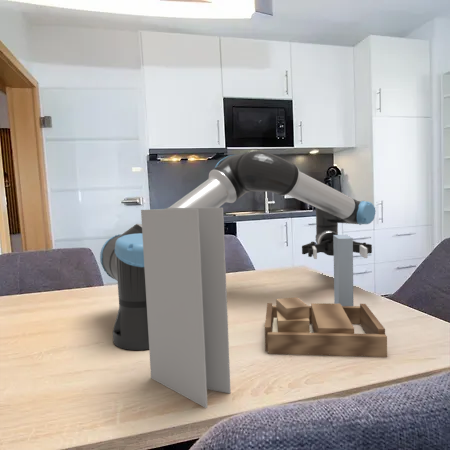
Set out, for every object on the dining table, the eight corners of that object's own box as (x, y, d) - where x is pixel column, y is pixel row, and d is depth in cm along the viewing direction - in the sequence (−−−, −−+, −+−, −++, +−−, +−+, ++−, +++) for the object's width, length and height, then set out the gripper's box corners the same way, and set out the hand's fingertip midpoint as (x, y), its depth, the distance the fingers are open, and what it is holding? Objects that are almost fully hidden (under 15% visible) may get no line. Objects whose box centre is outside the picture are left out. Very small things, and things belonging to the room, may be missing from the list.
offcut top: (286, 320, 75) (286, 308, 75) (276, 309, 82) (276, 299, 82) (309, 317, 76) (309, 306, 76) (297, 307, 83) (296, 297, 82)
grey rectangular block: (339, 316, 91) (338, 238, 89) (334, 307, 99) (333, 234, 97) (353, 317, 90) (352, 238, 88) (347, 307, 98) (346, 234, 96)
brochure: (231, 392, 58) (223, 207, 55) (206, 408, 54) (197, 209, 51) (175, 366, 68) (166, 208, 65) (151, 378, 64) (140, 209, 61)
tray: (265, 353, 71) (264, 329, 71) (268, 321, 90) (267, 301, 89) (387, 357, 68) (387, 331, 68) (364, 322, 86) (364, 302, 86)
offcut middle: (278, 334, 75) (277, 320, 75) (276, 319, 84) (276, 307, 84) (309, 334, 74) (309, 320, 74) (305, 319, 83) (304, 306, 83)
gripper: (369, 253, 119) (387, 266, 98) (293, 254, 123) (295, 267, 102) (369, 230, 118) (387, 239, 98) (292, 232, 122) (294, 241, 102)
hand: (340, 253), depth 100 cm, fingers open, 13 cm apart
